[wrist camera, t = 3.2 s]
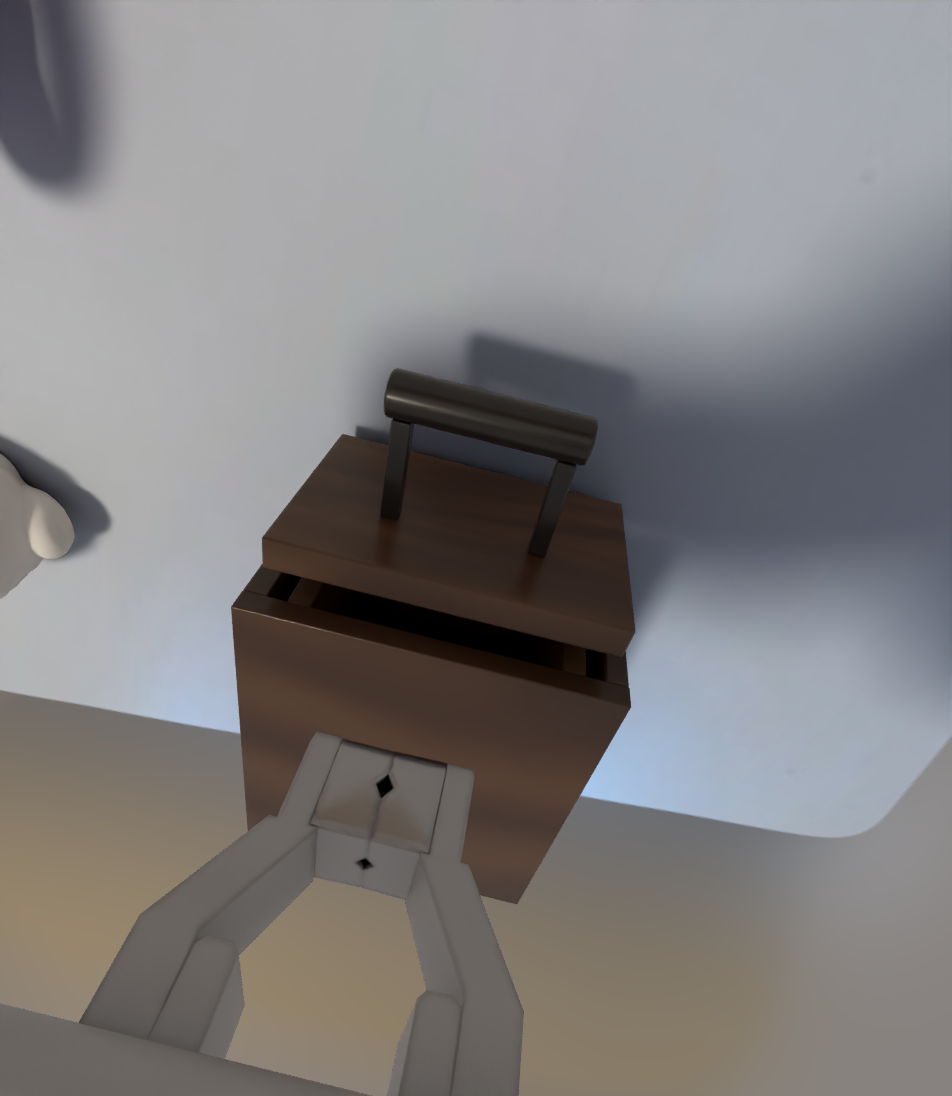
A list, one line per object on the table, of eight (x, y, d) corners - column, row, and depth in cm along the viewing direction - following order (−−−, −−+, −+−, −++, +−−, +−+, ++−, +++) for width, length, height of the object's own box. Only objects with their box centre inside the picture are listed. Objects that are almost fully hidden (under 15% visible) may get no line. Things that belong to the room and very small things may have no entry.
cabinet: (332, 466, 25) (230, 606, 18) (616, 538, 25) (631, 707, 18) (319, 684, 34) (247, 837, 26) (530, 736, 34) (517, 905, 26)
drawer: (350, 305, 20) (255, 378, 14) (671, 386, 20) (708, 493, 14) (327, 660, 31) (268, 783, 25) (534, 712, 31) (523, 847, 25)
